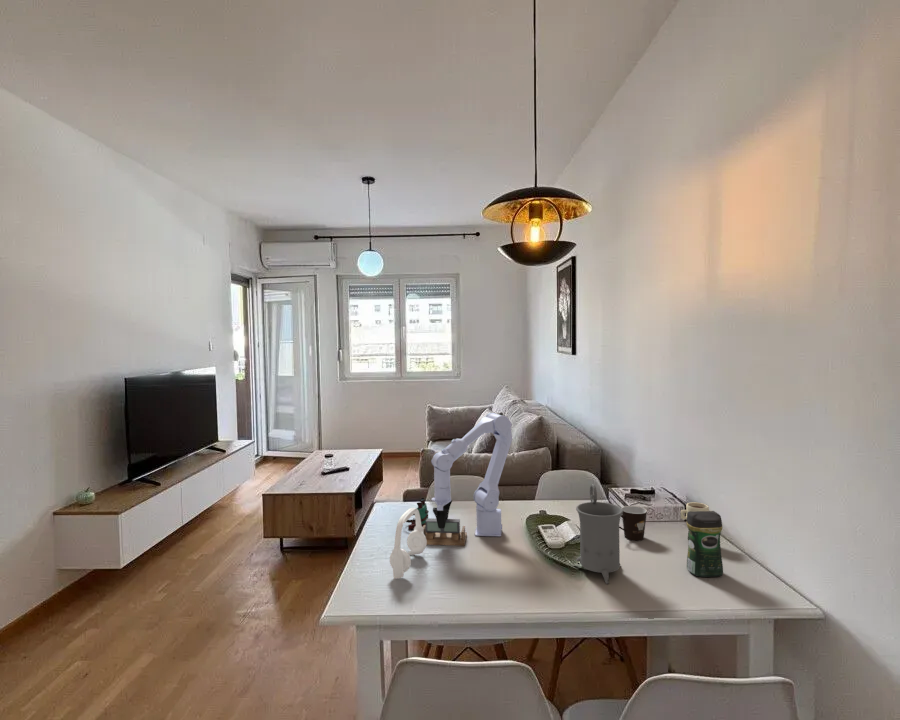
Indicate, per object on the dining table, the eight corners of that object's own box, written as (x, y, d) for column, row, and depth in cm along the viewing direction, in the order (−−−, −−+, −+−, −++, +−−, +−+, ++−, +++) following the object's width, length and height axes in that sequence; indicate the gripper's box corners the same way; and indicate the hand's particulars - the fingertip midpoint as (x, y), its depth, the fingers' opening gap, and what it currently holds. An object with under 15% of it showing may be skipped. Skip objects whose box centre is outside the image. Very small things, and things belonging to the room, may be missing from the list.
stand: (466, 535, 193) (466, 524, 192) (464, 545, 183) (464, 534, 183) (423, 533, 195) (423, 523, 194) (418, 544, 185) (418, 533, 184)
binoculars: (405, 497, 207) (429, 496, 205) (408, 524, 207) (432, 523, 205) (398, 504, 198) (424, 503, 196) (401, 532, 199) (427, 531, 197)
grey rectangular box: (460, 530, 189) (459, 519, 189) (459, 533, 186) (459, 522, 186) (427, 529, 191) (426, 518, 191) (425, 532, 188) (425, 521, 187)
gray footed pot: (633, 584, 152) (632, 498, 151) (581, 584, 152) (581, 499, 152) (614, 557, 171) (614, 481, 170) (568, 557, 171) (568, 481, 170)
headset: (407, 582, 156) (406, 522, 155) (385, 579, 158) (384, 520, 157) (429, 555, 175) (428, 502, 175) (409, 553, 177) (408, 500, 177)
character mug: (710, 539, 185) (710, 502, 184) (717, 547, 178) (717, 509, 177) (678, 537, 186) (677, 501, 186) (683, 545, 179) (683, 508, 179)
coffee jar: (714, 566, 163) (714, 507, 162) (727, 578, 155) (727, 515, 154) (682, 567, 163) (682, 507, 162) (693, 578, 155) (693, 516, 154)
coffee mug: (643, 533, 191) (643, 506, 191) (649, 542, 183) (649, 513, 182) (610, 532, 193) (610, 505, 192) (615, 541, 184) (615, 513, 184)
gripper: (434, 480, 196) (434, 517, 196) (428, 492, 181) (428, 531, 182) (453, 481, 195) (453, 517, 195) (448, 492, 180) (449, 531, 181)
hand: (443, 524), depth 188 cm, fingers open, 7 cm apart
